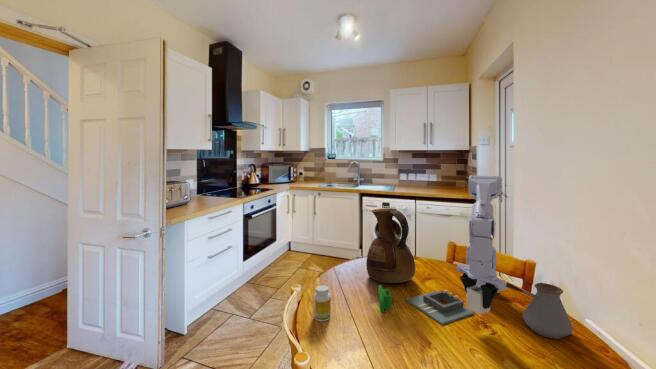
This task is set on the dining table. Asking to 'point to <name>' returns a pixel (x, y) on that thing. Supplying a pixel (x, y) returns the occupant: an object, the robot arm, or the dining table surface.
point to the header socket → (440, 306)
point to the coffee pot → (546, 311)
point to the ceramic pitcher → (390, 250)
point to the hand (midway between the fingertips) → (478, 303)
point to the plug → (475, 299)
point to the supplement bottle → (322, 303)
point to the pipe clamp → (384, 298)
